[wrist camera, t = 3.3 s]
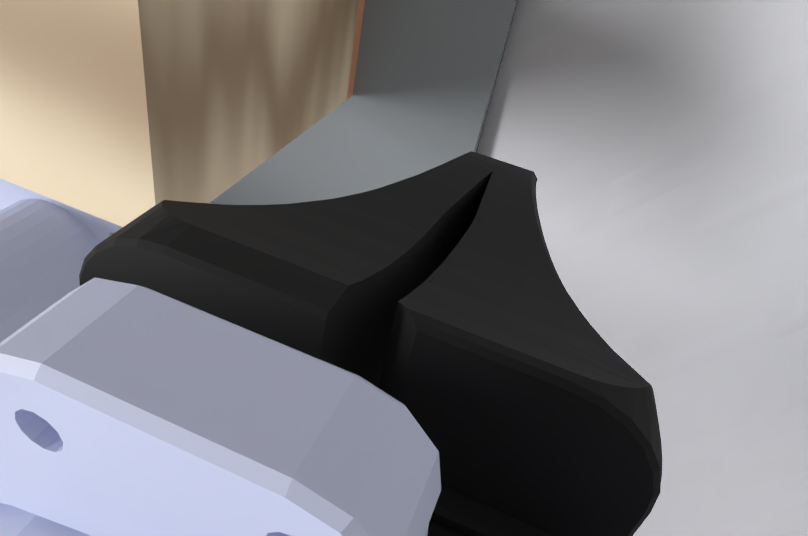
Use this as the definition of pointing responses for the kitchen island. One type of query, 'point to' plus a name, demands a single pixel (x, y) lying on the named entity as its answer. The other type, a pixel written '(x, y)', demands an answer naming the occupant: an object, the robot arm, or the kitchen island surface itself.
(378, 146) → the rubber mat
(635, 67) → the kitchen island surface
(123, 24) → the beech block
